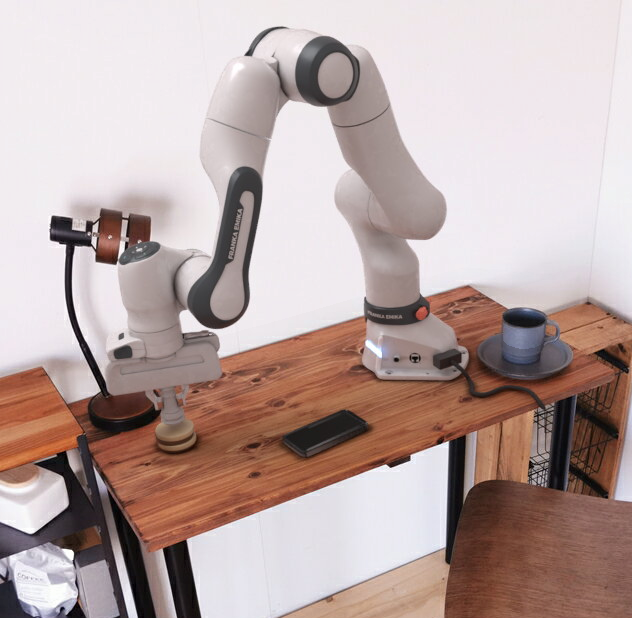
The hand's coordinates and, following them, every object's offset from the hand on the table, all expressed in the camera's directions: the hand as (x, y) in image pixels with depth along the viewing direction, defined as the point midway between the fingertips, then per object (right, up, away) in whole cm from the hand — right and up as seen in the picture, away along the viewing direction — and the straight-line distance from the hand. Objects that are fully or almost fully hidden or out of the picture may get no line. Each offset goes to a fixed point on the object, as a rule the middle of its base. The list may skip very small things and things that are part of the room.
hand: (170, 406), depth 164 cm
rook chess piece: (0, -3, +2) cm, 3 cm away
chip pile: (0, -7, +4) cm, 8 cm away
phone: (+28, -5, +4) cm, 29 cm away
